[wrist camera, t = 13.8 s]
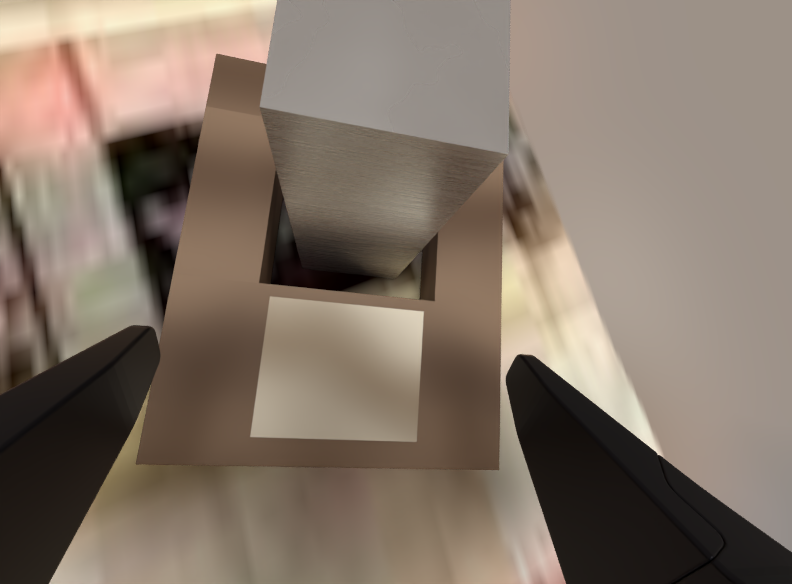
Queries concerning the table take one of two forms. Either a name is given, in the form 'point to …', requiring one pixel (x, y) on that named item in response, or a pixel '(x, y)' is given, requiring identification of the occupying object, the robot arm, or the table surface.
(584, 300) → the table surface
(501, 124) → the steel peg
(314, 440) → the hole board
